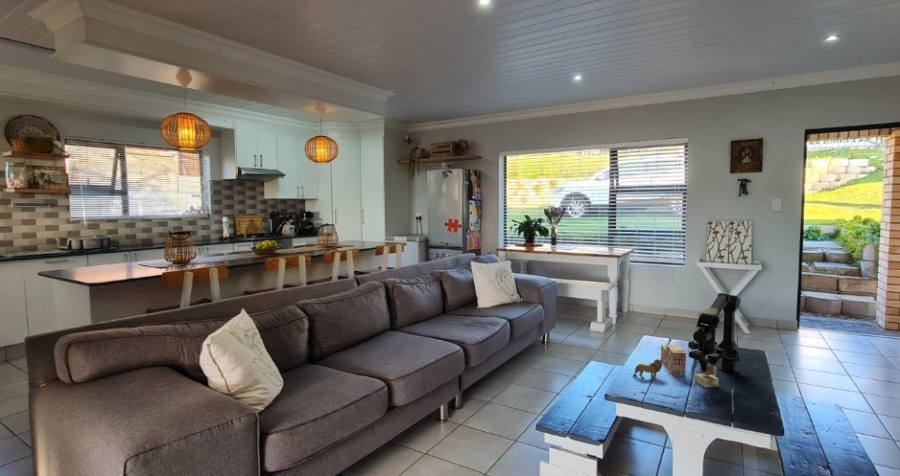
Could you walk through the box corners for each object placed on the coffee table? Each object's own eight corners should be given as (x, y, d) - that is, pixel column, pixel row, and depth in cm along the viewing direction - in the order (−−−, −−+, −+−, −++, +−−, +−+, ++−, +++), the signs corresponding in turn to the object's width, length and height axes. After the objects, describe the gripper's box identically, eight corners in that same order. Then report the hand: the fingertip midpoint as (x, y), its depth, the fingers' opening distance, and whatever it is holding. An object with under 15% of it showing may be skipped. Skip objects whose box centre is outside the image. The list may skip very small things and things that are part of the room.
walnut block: (706, 371, 219) (706, 362, 218) (713, 374, 215) (714, 365, 215) (700, 372, 217) (700, 363, 217) (707, 375, 213) (708, 366, 213)
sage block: (708, 373, 230) (709, 365, 229) (715, 376, 226) (716, 367, 226) (703, 374, 228) (703, 366, 228) (710, 377, 224) (710, 368, 224)
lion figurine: (658, 375, 228) (659, 357, 227) (664, 379, 222) (664, 361, 222) (630, 375, 226) (630, 358, 226) (635, 380, 221) (635, 362, 221)
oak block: (707, 381, 220) (708, 373, 220) (718, 386, 214) (718, 378, 213) (694, 382, 219) (695, 373, 219) (704, 387, 213) (705, 379, 212)
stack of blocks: (660, 361, 248) (661, 339, 247) (672, 362, 246) (673, 339, 245) (671, 376, 227) (672, 352, 226) (685, 377, 225) (686, 352, 225)
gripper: (707, 332, 226) (705, 363, 227) (679, 336, 219) (678, 368, 220) (728, 338, 215) (726, 370, 217) (700, 343, 208) (698, 376, 210)
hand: (706, 371), depth 216 cm, fingers closed on walnut block, 4 cm apart
